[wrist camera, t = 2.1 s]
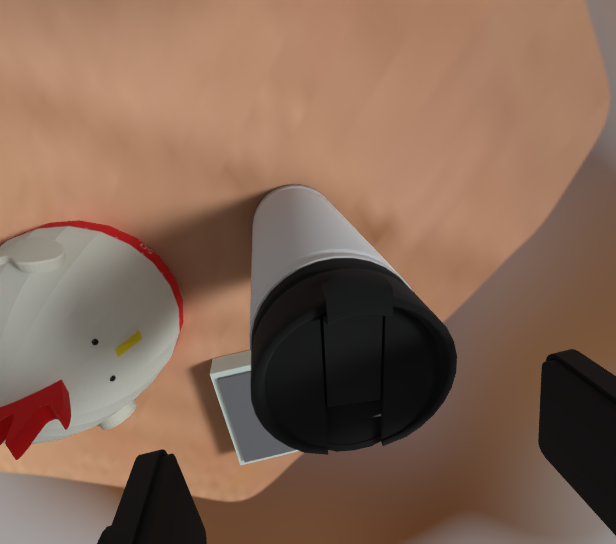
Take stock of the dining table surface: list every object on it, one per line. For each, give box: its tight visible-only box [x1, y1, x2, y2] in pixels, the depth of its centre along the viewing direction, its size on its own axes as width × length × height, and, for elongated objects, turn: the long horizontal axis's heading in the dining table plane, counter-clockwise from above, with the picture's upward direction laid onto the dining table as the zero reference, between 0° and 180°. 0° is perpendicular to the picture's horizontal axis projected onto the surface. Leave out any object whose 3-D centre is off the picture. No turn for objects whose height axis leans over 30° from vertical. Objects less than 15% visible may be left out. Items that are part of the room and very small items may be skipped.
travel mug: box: [250, 184, 457, 455], centre depth 20 cm, size 6×7×20 cm
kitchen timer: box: [0, 221, 183, 460], centre depth 23 cm, size 14×14×15 cm
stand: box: [210, 350, 299, 465], centre depth 33 cm, size 10×10×2 cm
